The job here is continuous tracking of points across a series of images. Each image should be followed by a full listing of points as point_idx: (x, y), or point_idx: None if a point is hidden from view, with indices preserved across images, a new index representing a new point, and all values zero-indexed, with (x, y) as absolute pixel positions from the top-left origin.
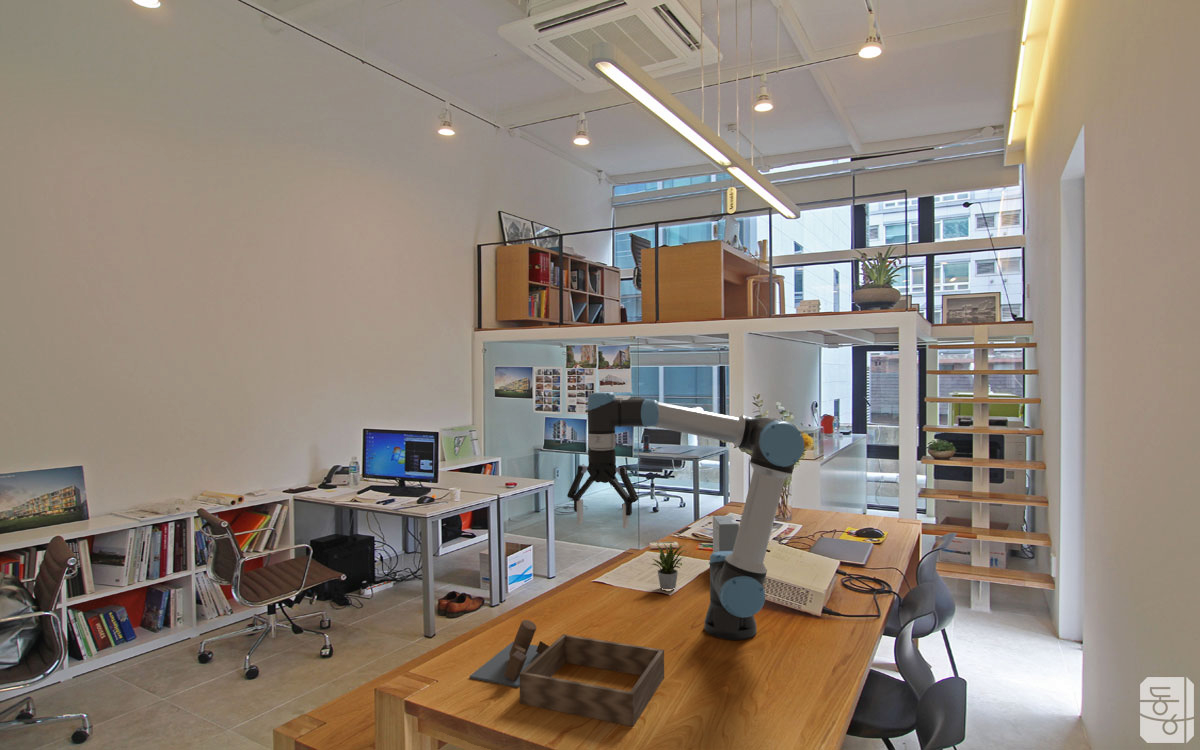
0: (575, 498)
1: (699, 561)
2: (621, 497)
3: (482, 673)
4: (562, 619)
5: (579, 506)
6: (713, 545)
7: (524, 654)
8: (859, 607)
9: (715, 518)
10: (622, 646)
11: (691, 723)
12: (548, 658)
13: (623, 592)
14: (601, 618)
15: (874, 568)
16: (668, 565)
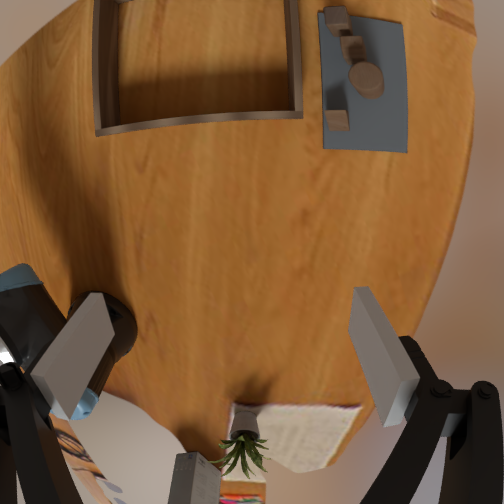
0: (436, 389)
1: (242, 477)
2: (32, 414)
3: (390, 34)
4: (365, 273)
5: (387, 356)
6: (217, 491)
7: (330, 23)
8: None
9: None
10: (168, 118)
11: (55, 47)
12: (290, 42)
13: (303, 392)
14: (302, 300)
15: (83, 469)
16: (240, 443)
